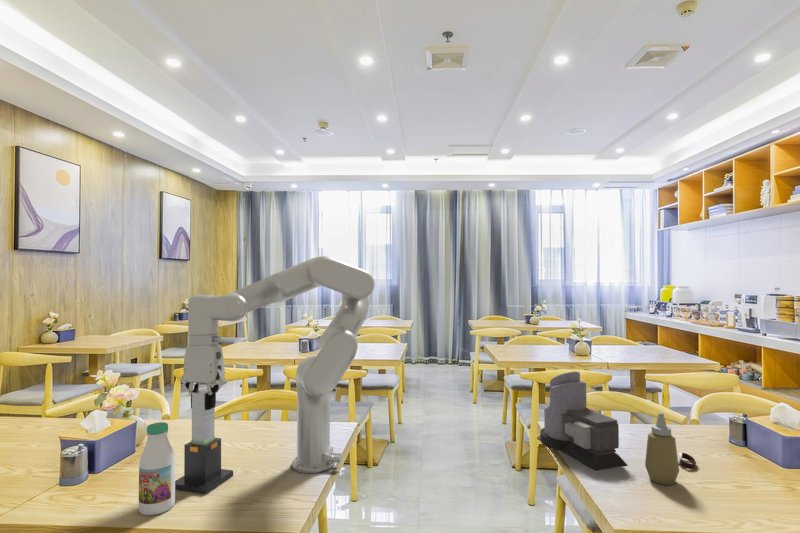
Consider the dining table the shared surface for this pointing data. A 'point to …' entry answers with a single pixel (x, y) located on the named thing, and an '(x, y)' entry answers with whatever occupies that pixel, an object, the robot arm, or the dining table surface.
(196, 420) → the stand column
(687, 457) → the watch
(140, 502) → the milk bottle
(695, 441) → the dining table surface
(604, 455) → the grey blocky piece
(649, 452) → the squeeze bottle
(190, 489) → the stand base
